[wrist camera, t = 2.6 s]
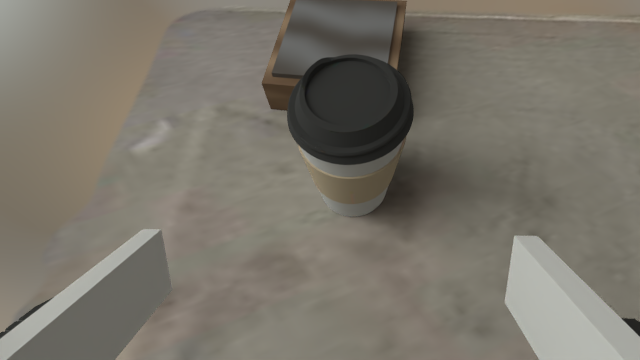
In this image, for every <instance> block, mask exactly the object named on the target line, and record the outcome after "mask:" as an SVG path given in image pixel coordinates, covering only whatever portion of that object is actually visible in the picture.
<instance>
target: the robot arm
mask: <svg viewBox="0 0 640 360" xmlns="http://www.w3.org/2000/svg"><path fill="white" fill-rule="evenodd" d="M171 291H172V285H171V279H170V274H169V269H168V263H167V258H166V252H165V247H164V241H163V236H162V231H161V229H142V230H141V231H140V232H139V233H137V234H136V235H135V236H133V237H132V238H131V239H129V240H128V241H127V242H126V243H124V244H123V245H122V246H120V247H119V248H118V249H116V250H115V251H114V252H112V253H111V254H110V255H109V256H107V257H106V258H105V259H103V260H102V261H101V262H99V263H98V264H97V265H96V266H94V267H93V268H92V269H90V270H89V271H88V272H86V273H85V274H84V275H83V276H81V277H80V278H79V279H77V280H76V281H75V282H73V283H72V284H71V285H70V286H68V287H67V288H66V289H64V290H63V291H62V292H60V293H59V294H58V295H57V296H55V297H53V298H51V299H49V300H47V301H45V302H44V303H42V304H40V305H38V306H36V307H34V308H33V309H32V310H30V311H29V312H28V313H26V314H25V315H24V316H22V317H21V318H20V319H19V321H16V322H14V323H13V324H12V325H10V326H9V327H8V328H6V330H5V332H1V333H0V360H115V359H116V358H117V356H118V355H119V354H120V353H121V352H122V350H123V349H124V348H125V347H126V345H127V344H128V343H129V342H130V341H131V339H132V338H133V337H134V336H135V335H136V333H137V332H138V331H139V330H140V329H141V327H142V326H143V325H144V324H145V322H146V321H147V320H148V319H149V318H150V316H151V315H152V314H153V313H154V312H155V310H156V309H157V308H158V307H159V306H160V304H161V303H162V302H163V301H164V299H165V298H166V297H167V296H168V295H169V293H170V292H171ZM505 304H506V305H507V307H508V309H509V310H510V312H511V314H512V315H513V317H514V319H515V320H516V322H517V324H518V325H519V327H520V329H521V330H522V332H523V334H524V335H525V337H526V339H527V340H528V342H529V344H530V345H531V347H532V349H533V350H534V352H535V354H536V355H537V357H538V359H539V360H640V322H639V321H637V320H635V319H623V318H620V317H619V316H618V315H617V314H616V313H615V312H614V311H613V310H612V309H611V308H610V307H609V306H608V305H607V304H606V303H605V302H604V301H603V300H602V299H601V298H600V297H599V296H598V295H597V294H596V293H595V292H594V291H593V290H592V289H591V288H590V287H589V286H588V285H587V284H586V283H585V282H584V281H583V280H582V279H581V278H580V277H579V276H578V275H577V274H576V273H574V272H573V271H572V270H571V269H570V268H569V267H568V266H567V265H566V264H565V263H564V262H563V261H562V260H561V259H560V258H559V257H558V256H557V255H556V254H555V253H554V252H553V251H552V250H551V249H550V248H549V247H548V246H547V245H546V244H545V243H544V242H543V241H542V240H541V239H540V238H539V237H538V236H514V242H513V248H512V255H511V262H510V269H509V276H508V283H507V290H506V296H505Z"/></svg>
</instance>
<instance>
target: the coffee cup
mask: <svg viewBox="0 0 640 360" xmlns="http://www.w3.org/2000/svg"><path fill="white" fill-rule="evenodd" d="M287 119H288V126H289V129H290V132H291V134H292V136H293V138H294V140H295V141H296V142H297V144H298V147H299V150H300V152H301V154H302V156H303V159H304V161H305V163H306V165H307V167H308V170H309V172H310V174H311V176H312V178H313V181H314V183H315V185H316V186H317V188H318V189H319V191H320V193H321V195H322V198H323V200H324V202H325V203H326V205H327V206H328V207H329V208H330V209H331V210H333V211H334V212H336V213H338V214H340V215H343V216H349V217H357V216H362V215H365V214H368V213H370V212H372V211H373V210H375V209H376V208H377V207H378V206H379V205H380V204H381V202H382V201H383V199H384V197H385V195H386V192H387V188H388V185H389V184H390V182H391V180H392V178H393V175H394V172H395V169H396V167H397V164H398V161H399V158H400V155H401V152H402V150H403V147H404V144H405V140H406V135H407V133H408V132H409V130H410V127H411V124H412V121H413V103H412V99H411V93H410V89H409V86H408V84H407V82H406V80H405V79H404V77H403V76H402V75H401V74H400V72H399V71H397V70H396V69H395V68H394V67H392V66H391V65H389V64H388V63H386V62H384V61H382V60H379V59H376V58H373V57H369V56H365V55H358V54H348V55H341V56H337V57H326V58H322V59H320V60H318V61H316V62H315V63H314V64H313V65H312V66H310V68H309V69H308V70H307V71H306V72H305V74H304V76H303V77H302V78H301V79H300V80H299V81H298V83H297V84H296V86H295V87H294V89H293V91H292V93H291V95H290V98H289V102H288V113H287Z"/></svg>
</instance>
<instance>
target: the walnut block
mask: <svg viewBox="0 0 640 360" xmlns="http://www.w3.org/2000/svg"><path fill="white" fill-rule="evenodd" d="M406 2H407V1H399V0H290V3H289V6H288V9H287V12H286V14H285V17H284V20H283V23H282V26H281V29H280V32H279V35H278V38H277V40H276V43H275V46H274V49H273V52H272V55H271V58H270V61H269V64H268V66H267V69H266V72H265V75H264V78H263V81H262V85H263V88H264V91H265V94H266V96H267V99H268V102H269V105H270V107H271V109H279V110H288V102H289V98H290V95H291V93H292V91H293V89H294V87H295V86H296V84H297V83H298V81H299V80H300V79H301V78H302V77H303V76H304V74H305V72H306V71H307V70H308V69H309V68H310V66H312V65H313V64H314V63H315V62H316V61H318V60H320V59H322V58H326V57H337V56H341V55H348V54H358V55H365V56H369V57H373V58H376V59H379V60H382V61H384V62H386V63H388V64H389V65H391V66H392V67H394V68H395V69H396V70H398V63H399V56H400V49H401V42H402V35H403V27H404V19H405V10H406Z"/></svg>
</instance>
